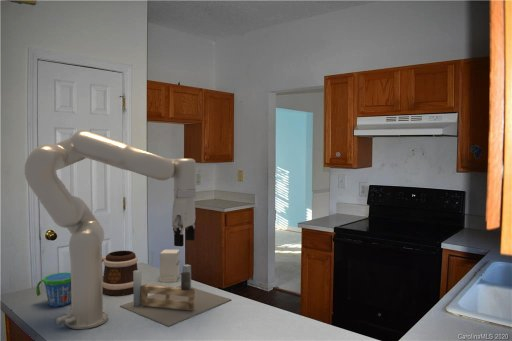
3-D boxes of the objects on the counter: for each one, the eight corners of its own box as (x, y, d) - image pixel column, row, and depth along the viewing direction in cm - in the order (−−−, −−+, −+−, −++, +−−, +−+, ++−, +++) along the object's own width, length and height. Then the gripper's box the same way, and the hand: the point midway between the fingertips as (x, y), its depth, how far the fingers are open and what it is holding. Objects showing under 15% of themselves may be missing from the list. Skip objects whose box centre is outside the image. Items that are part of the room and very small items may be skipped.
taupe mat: (168, 326, 128) (168, 325, 128) (119, 306, 145) (119, 305, 145) (231, 300, 152) (231, 299, 152) (183, 285, 168) (183, 284, 168)
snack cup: (30, 309, 142) (30, 280, 142) (45, 298, 153) (45, 272, 152) (75, 309, 143) (74, 280, 142) (86, 298, 153) (86, 272, 153)
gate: (140, 306, 143) (140, 271, 142) (144, 303, 146) (144, 268, 145) (192, 311, 139) (191, 275, 138) (195, 307, 141) (195, 272, 141)
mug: (148, 286, 167) (147, 250, 167) (123, 298, 153) (123, 259, 153) (109, 281, 174) (109, 246, 174) (83, 292, 160) (82, 254, 160)
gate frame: (136, 308, 143) (136, 272, 142) (132, 307, 145) (131, 271, 144) (191, 289, 163) (191, 258, 163) (186, 288, 165) (186, 257, 165)
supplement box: (176, 282, 173) (176, 253, 172) (159, 282, 173) (159, 253, 173) (180, 277, 180) (180, 249, 180) (163, 276, 180) (163, 249, 180)
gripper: (184, 191, 148) (184, 237, 149) (163, 196, 131) (163, 247, 132) (203, 192, 147) (203, 238, 147) (184, 196, 130) (184, 249, 130)
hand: (184, 242), depth 140 cm, fingers open, 9 cm apart
